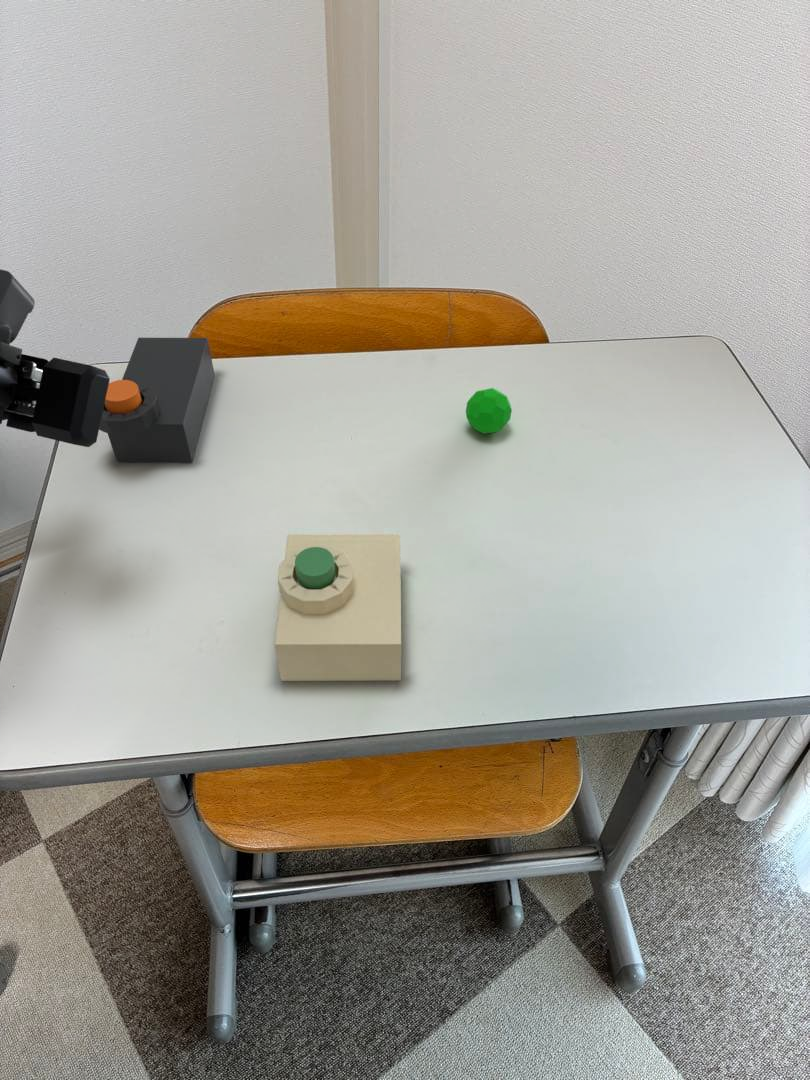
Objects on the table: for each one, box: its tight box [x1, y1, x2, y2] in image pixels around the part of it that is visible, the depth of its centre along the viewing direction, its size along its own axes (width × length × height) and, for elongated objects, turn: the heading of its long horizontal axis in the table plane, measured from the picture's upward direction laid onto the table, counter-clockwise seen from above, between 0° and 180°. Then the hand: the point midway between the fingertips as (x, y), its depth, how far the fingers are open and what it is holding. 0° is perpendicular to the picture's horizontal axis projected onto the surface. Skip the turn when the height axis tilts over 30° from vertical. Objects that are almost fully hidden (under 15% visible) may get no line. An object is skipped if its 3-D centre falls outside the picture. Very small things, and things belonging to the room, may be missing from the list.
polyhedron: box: [465, 387, 513, 435], centre depth 88 cm, size 5×5×5 cm
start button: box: [105, 379, 142, 414], centre depth 80 cm, size 4×4×2 cm
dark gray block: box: [99, 337, 215, 464], centre depth 87 cm, size 9×18×7 cm, turn 1°
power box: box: [274, 534, 402, 682], centre depth 68 cm, size 10×12×7 cm
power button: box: [295, 547, 335, 589], centre depth 65 cm, size 3×3×2 cm
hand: (59, 402), depth 72 cm, fingers closed
